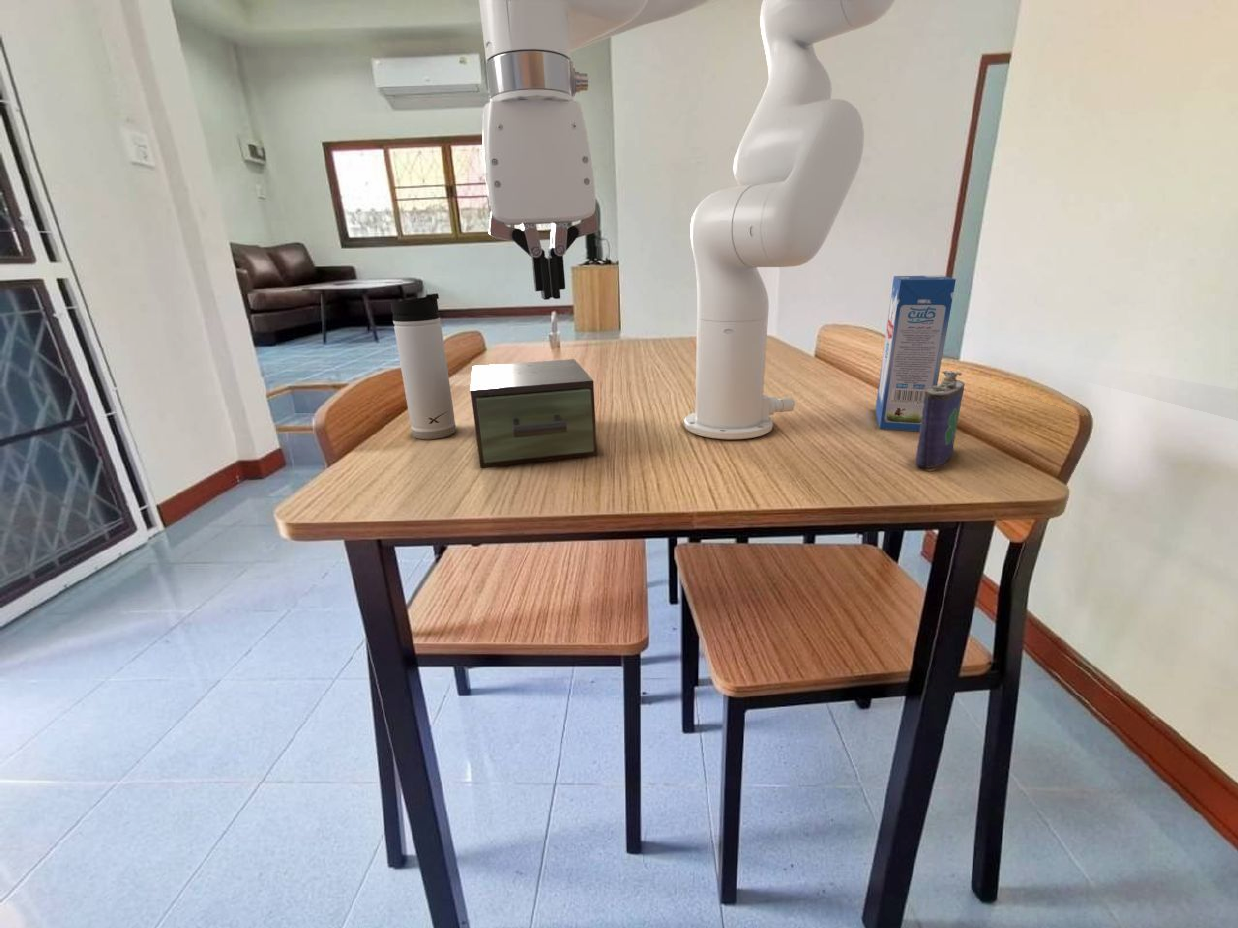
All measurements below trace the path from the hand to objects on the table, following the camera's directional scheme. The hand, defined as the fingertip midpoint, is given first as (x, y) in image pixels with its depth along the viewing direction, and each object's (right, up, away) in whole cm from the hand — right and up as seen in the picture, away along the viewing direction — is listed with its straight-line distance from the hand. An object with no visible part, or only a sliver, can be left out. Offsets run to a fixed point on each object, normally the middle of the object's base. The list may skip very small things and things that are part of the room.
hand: (550, 297), depth 57 cm
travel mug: (-20, -13, +26) cm, 36 cm away
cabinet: (-5, -14, +21) cm, 26 cm away
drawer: (-4, -15, +17) cm, 22 cm away
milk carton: (+48, -11, +25) cm, 55 cm away
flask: (+45, -17, +10) cm, 49 cm away
